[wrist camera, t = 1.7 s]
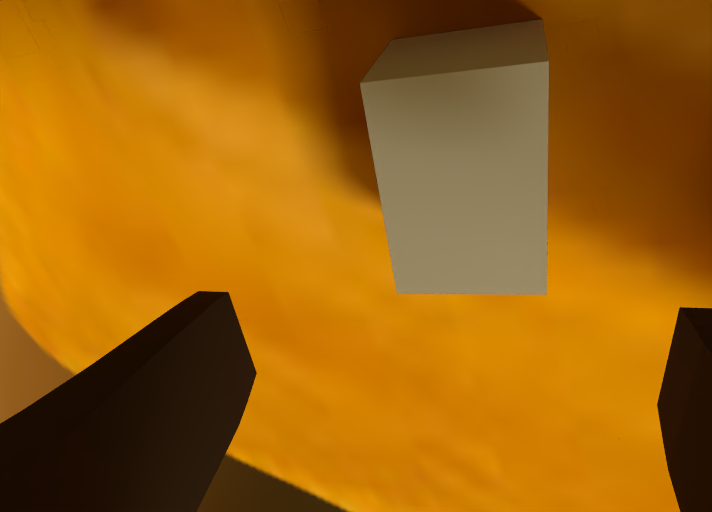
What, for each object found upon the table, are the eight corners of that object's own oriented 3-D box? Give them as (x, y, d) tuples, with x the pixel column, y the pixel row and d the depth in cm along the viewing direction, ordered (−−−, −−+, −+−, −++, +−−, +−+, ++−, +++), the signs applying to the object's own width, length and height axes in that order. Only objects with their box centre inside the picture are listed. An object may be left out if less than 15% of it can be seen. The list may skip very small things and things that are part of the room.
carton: (542, 17, 14) (548, 61, 11) (541, 216, 17) (546, 294, 14) (392, 38, 15) (359, 83, 12) (417, 221, 19) (397, 293, 15)
